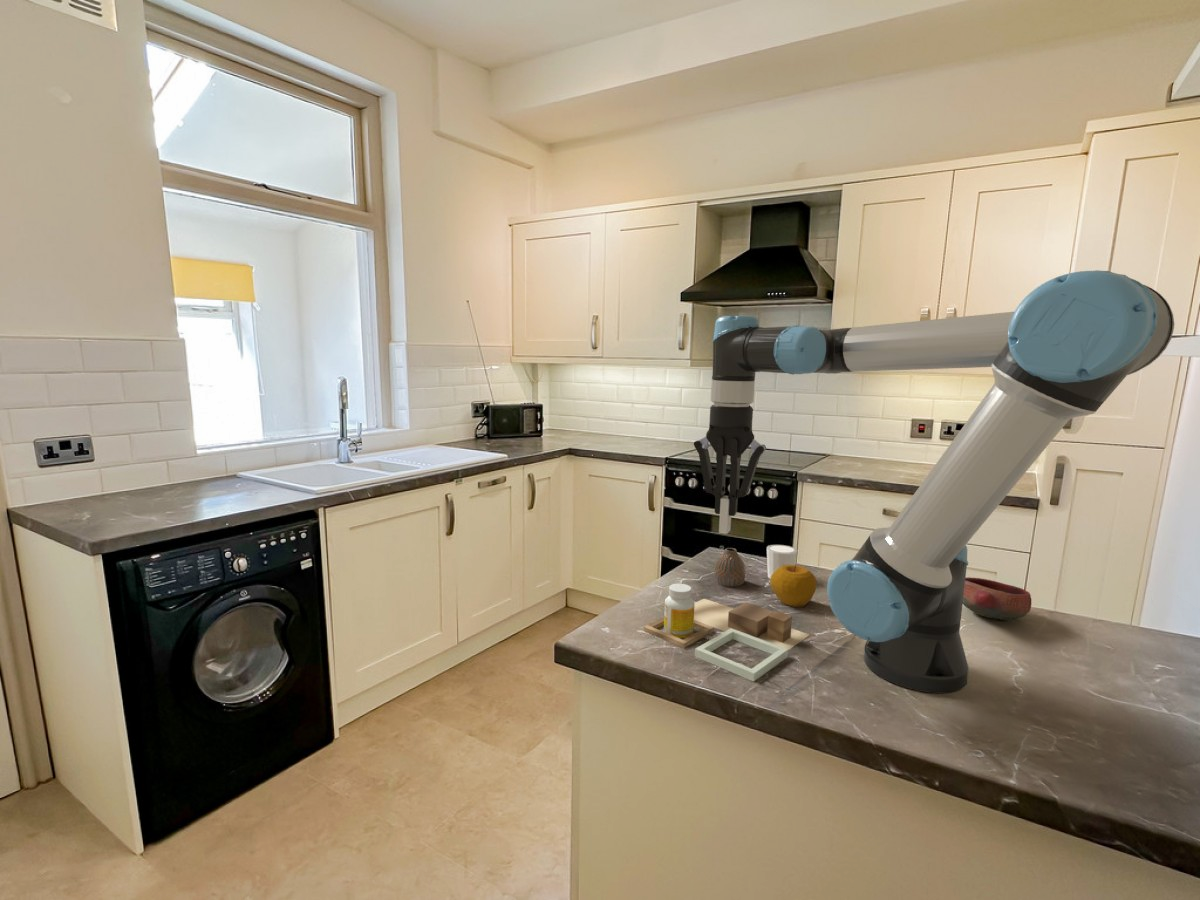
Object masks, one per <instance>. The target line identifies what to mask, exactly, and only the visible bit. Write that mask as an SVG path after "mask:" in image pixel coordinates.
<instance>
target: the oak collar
mask: <svg viewBox="0 0 1200 900" xmlns="http://www.w3.org/2000/svg"><path fill="white" fill-rule="evenodd" d="M660 627H661V628H662V627H664V616H663V617H661V618H660V619H657V620H655V621H653V622H651V623H649V624H647V625H644V626H643V632H644V633H647V634H649V635H651V636H655V637H657V638H659V639H661V640H664V641H666V642H667V643H668V642H669V643H671V644H672V645H676V646H678V647H680V648H682V649H685V648H686V647H688V646H690V645H692V644H694V643H696V642H698V641H700V640H702V639H703V638H705V637H706V636H708V635H710V634H712V633H713V632H714V629H715V628H714V627H712V626H709V625H706V624H704V623H701V622H698V621H696V620H694V627H693V628H696V629H698V631H695V633H694V632H693V634H692V635H691V636H689V637H687V638H677V637H675V636H673V635H670V634H668V633H665V632H664V630H663V631H662V630H660V629H659V628H660Z"/></svg>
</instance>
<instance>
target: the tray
mask: <svg viewBox="0 0 1200 900" xmlns="http://www.w3.org/2000/svg"><path fill="white" fill-rule="evenodd" d="M732 640H734V641H737V642H739V643H742V644H745V645H748V646H750V647H752V648H755V649H757V650H760V651H763V652H764V653H768V654H770V655H769V656H768V657H767V658H764V660H762V661H761V662H759V663H758V664H756V665H755V666H753V667H752V668H750V667H748V666H745V665H743V664H741V663H738V662H736V661H735V660H731V659H730V658H726V657H724V656H722V655H719V654H717V653H714V652H713V651H714V650H717V649H718V648H719V647H721V646H723V645H725V644H727V643H728V642H730V641H732ZM694 657H695V658H697V659H700V660H702V661H704V662H706V663H709V664H712V665H713V666H716V667H719V668H720V669H723V670H726V671H728V672H730V673H732V674H734V675H738V676H740V677H742V678H744V679H745V680H749V681H751V682H755V681H756V680H759V678H761V677H762V676H764V675H765V674H766V673H768V672H769V671H771V670H772V669H773V668H775V667H776V666H777V665H779V664H780V663H781V662H783V661H784V660H786V659H787V658H788V657H789V650H788V649H786V648H783V647H780V646H777V645H775V644H772V643H769V642H767V641H764V640H761V639H759V638H756V637H753V636H750V635H748V634H745V633H742V632H740V631H737V630H734V629H732V628H731V629H729V630H727V631H725V632H724V631H723V632H722V633H720V634H718V635H717V636H715V637H713V638H711V639H709V640H708V641H706V642H705V643H702V644H701V645H700V646H697V647H696V648H694Z"/></svg>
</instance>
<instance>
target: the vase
mask: <svg viewBox="0 0 1200 900" xmlns="http://www.w3.org/2000/svg"><path fill="white" fill-rule="evenodd" d="M746 569H747V568H746V564H745V562H744V561H743V559H742V558H741V556H740V554H739V553H738V551H737V549H736V548H733V547H727V548H725V549H724V552H723V553H722V554H721V555H720V556H719V557H718V558H717V560H716V562H715V564H714V568H713V574H714V579H715V582H716V584H718V585H720V586H723V587H727V588H737V587H741V586H742V585H744V582H745V579H746V574H747V571H746Z"/></svg>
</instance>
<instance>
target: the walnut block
mask: <svg viewBox="0 0 1200 900" xmlns="http://www.w3.org/2000/svg"><path fill="white" fill-rule="evenodd" d="M774 612H775V611H773V610H769V609H766V608H763V607H762V606H761V607H760V606H757V605H754V604H751V603H748V602H744V603H742V604H740V605H738V606H737V607H735V608H733V610H731V611H729V614H728V627H729V628H732V629H735V630H738V631H740V632H743V633H746V634H748V635H751V636H754V637H756V638H757V637H759V636H760V635H762V634H764V633H765V632H767V629H768V616H769V615H771V614H772V613H774Z"/></svg>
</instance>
